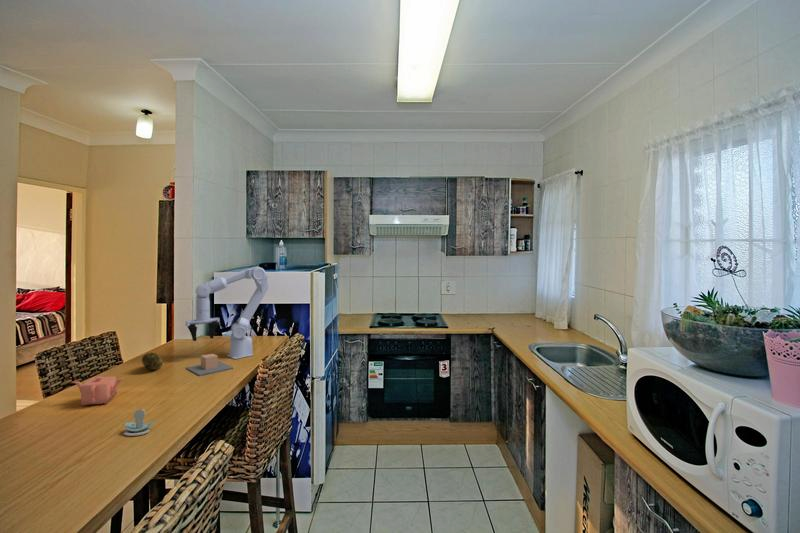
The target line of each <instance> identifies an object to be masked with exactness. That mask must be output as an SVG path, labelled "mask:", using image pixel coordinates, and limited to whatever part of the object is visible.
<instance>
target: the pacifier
mask: <svg viewBox="0 0 800 533" xmlns="http://www.w3.org/2000/svg"><path fill="white" fill-rule="evenodd" d="M133 418H134V420H135V422H126V423H125V424H124V428H125V429H126V431H124V432H123V435H124V436H126V437H138V436H142V435H146V434H148V433H149V432H150V429H148V428H149V427H151V426H152V425H154V423H155V421H154V420H152V421H150V422H148V423H145V421H144V420H145V418H146V411H145V410H144V409H142V408H139V409H136V410H135V411H134V413H133Z"/></svg>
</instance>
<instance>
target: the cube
mask: <svg viewBox="0 0 800 533" xmlns="http://www.w3.org/2000/svg"><path fill="white" fill-rule="evenodd" d="M218 361H219V356H218V355H217V354H214V353H209V354H203V355H202V354H201V355H200V364H201V368H203V369H205V370H207V369H212V368H217V367H218Z"/></svg>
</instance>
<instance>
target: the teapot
mask: <svg viewBox="0 0 800 533" xmlns="http://www.w3.org/2000/svg"><path fill="white" fill-rule="evenodd" d="M124 379H125V378H123V377H122V378H118V379H117V376H114V375H113V376H101V375H100V376H96V377H91V378H90V379H88V380H87V381H85V382H84V383H82V382H80V381H72V383H73V384H76V385H77V387H78V389H79V393H80V402H81V404H80V405H81V406H91V405H101V404H102V405H103V403H104V404H108V403H109V402H110V401H111V400H112V399H113V398H114V397H115V396H116V395H117V390H118V389H119V386H120V385H119V384H120V383H121V382H122V380H124ZM125 380H126V379H125ZM90 404H91V405H90Z"/></svg>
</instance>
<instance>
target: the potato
mask: <svg viewBox="0 0 800 533" xmlns="http://www.w3.org/2000/svg"><path fill="white" fill-rule="evenodd" d="M141 363H142V364H143V367H144V368H145V369H150V370H159V369H160V368H161V367H162V366H163V360H162V357H160V354H158V353H157V352H148V353H146V354H144V355H143V356H142V358H141Z"/></svg>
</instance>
